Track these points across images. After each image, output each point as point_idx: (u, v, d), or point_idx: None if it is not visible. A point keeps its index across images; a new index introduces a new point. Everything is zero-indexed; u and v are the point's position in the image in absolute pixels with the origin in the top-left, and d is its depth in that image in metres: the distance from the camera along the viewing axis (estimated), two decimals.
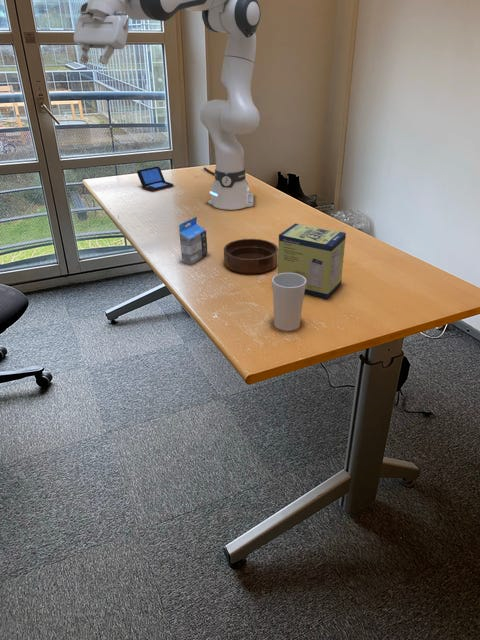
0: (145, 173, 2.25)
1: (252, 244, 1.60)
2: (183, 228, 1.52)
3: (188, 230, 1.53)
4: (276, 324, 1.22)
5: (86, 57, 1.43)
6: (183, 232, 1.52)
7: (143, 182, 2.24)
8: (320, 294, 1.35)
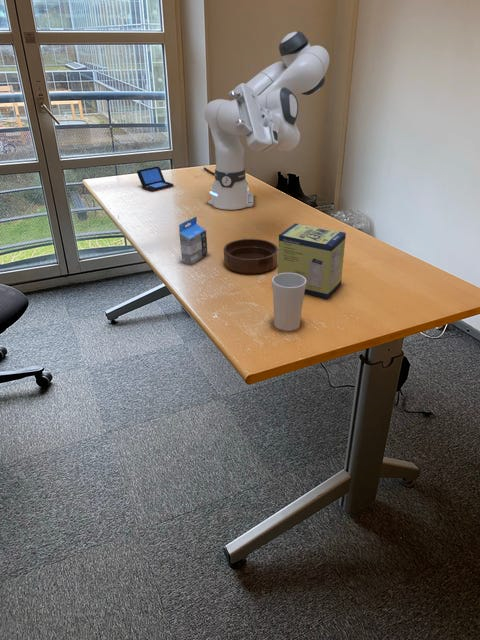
0: (145, 173, 2.25)
1: (252, 244, 1.60)
2: (183, 228, 1.52)
3: (188, 230, 1.53)
4: (276, 324, 1.22)
5: None
6: (183, 232, 1.52)
7: (143, 182, 2.24)
8: (320, 294, 1.35)
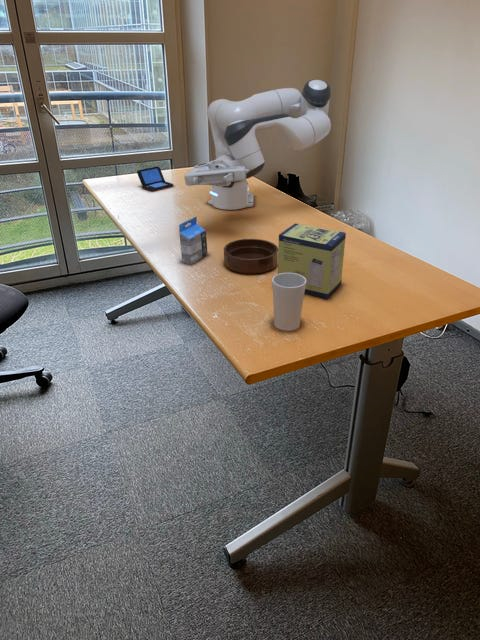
0: (145, 173, 2.25)
1: (252, 244, 1.60)
2: (183, 228, 1.52)
3: (188, 230, 1.53)
4: (276, 324, 1.22)
5: (198, 181, 1.60)
6: (183, 232, 1.52)
7: (143, 182, 2.24)
8: (320, 294, 1.35)
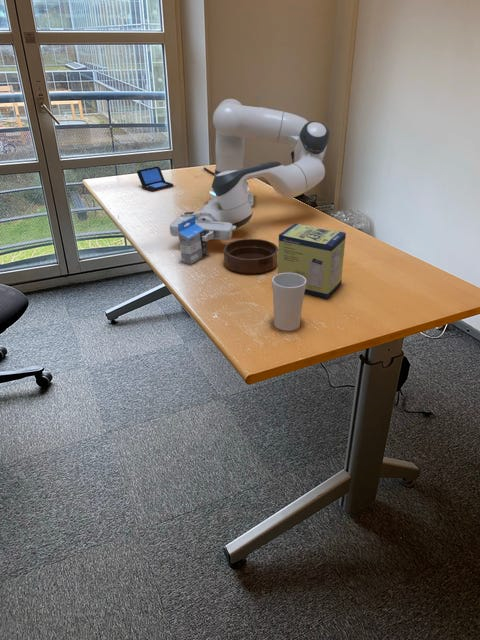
0: (145, 173, 2.25)
1: (252, 244, 1.60)
2: (182, 228, 1.52)
3: (187, 230, 1.53)
4: (276, 324, 1.22)
5: None
6: (182, 232, 1.52)
7: (143, 182, 2.24)
8: (320, 294, 1.35)
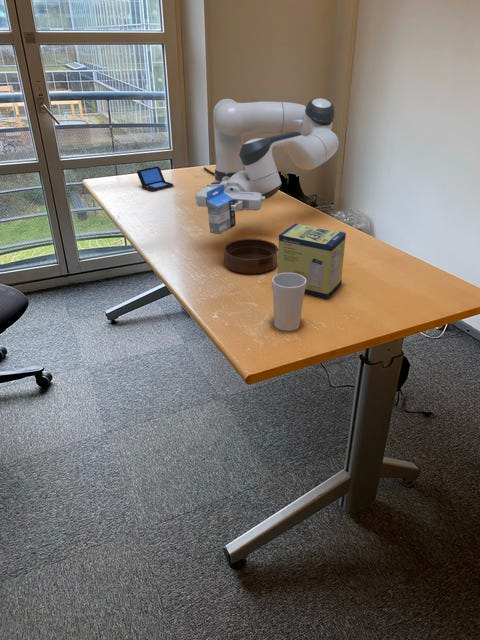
0: (145, 173, 2.25)
1: (252, 244, 1.60)
2: (210, 196, 1.45)
3: (216, 198, 1.46)
4: (276, 324, 1.22)
5: None
6: (211, 200, 1.45)
7: (143, 182, 2.24)
8: (320, 294, 1.35)
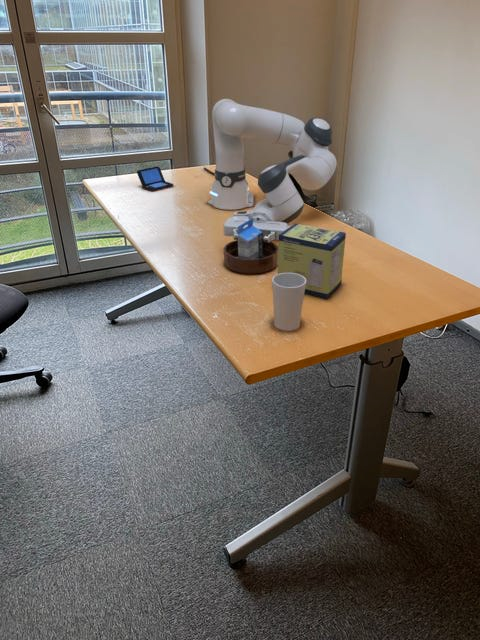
0: (145, 173, 2.25)
1: None
2: (241, 230, 1.48)
3: (246, 232, 1.49)
4: (276, 324, 1.22)
5: None
6: (241, 234, 1.48)
7: (143, 182, 2.24)
8: (320, 294, 1.35)
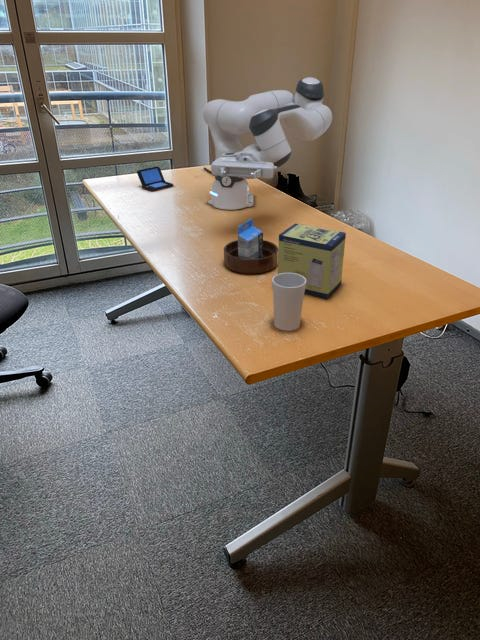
0: (145, 173, 2.25)
1: None
2: (241, 230, 1.48)
3: (246, 232, 1.49)
4: (276, 324, 1.22)
5: (226, 173, 1.58)
6: (241, 234, 1.48)
7: (143, 182, 2.24)
8: (320, 294, 1.35)
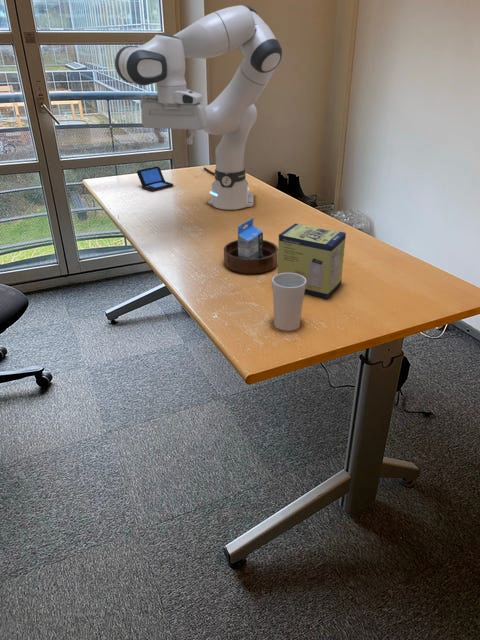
0: (145, 173, 2.25)
1: None
2: (241, 230, 1.48)
3: (246, 232, 1.49)
4: (276, 324, 1.22)
5: None
6: (241, 234, 1.48)
7: (143, 182, 2.24)
8: (320, 294, 1.35)
